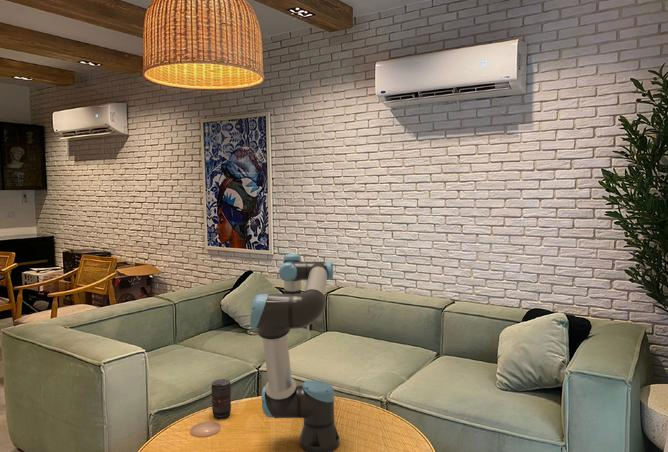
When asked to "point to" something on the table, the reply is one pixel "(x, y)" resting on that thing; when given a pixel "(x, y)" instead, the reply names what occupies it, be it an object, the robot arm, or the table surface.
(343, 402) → the table surface
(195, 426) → the plate
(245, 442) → the table surface
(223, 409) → the camera lens
